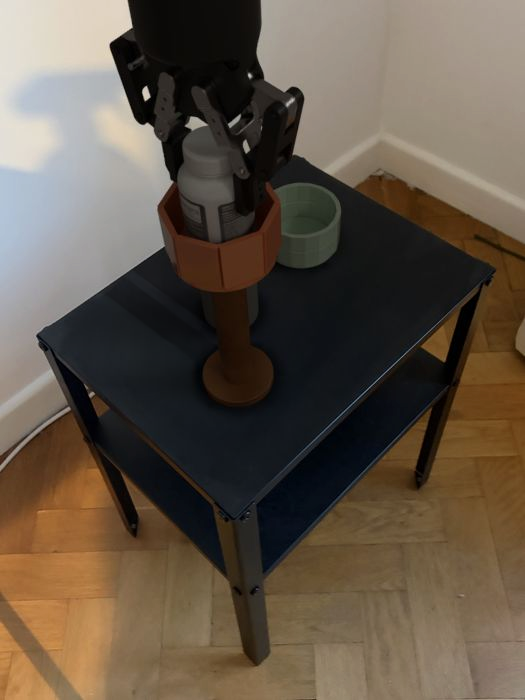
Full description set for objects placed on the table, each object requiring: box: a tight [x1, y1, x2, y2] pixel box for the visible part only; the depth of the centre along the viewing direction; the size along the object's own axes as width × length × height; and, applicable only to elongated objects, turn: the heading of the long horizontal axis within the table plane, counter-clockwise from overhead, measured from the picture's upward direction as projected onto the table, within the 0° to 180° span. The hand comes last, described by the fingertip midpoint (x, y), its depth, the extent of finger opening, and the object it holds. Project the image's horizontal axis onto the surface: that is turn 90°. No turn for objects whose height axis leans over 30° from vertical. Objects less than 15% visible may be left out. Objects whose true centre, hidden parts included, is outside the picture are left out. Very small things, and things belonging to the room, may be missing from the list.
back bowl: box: [273, 182, 342, 269], centre depth 81 cm, size 9×9×5 cm
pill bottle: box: [177, 124, 256, 245], centre depth 53 cm, size 5×5×10 cm
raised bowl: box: [156, 181, 282, 292], centre depth 56 cm, size 9×9×5 cm
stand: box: [202, 288, 274, 408], centre depth 65 cm, size 7×7×18 cm
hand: (216, 191), depth 53 cm, fingers closed on pill bottle, 5 cm apart
